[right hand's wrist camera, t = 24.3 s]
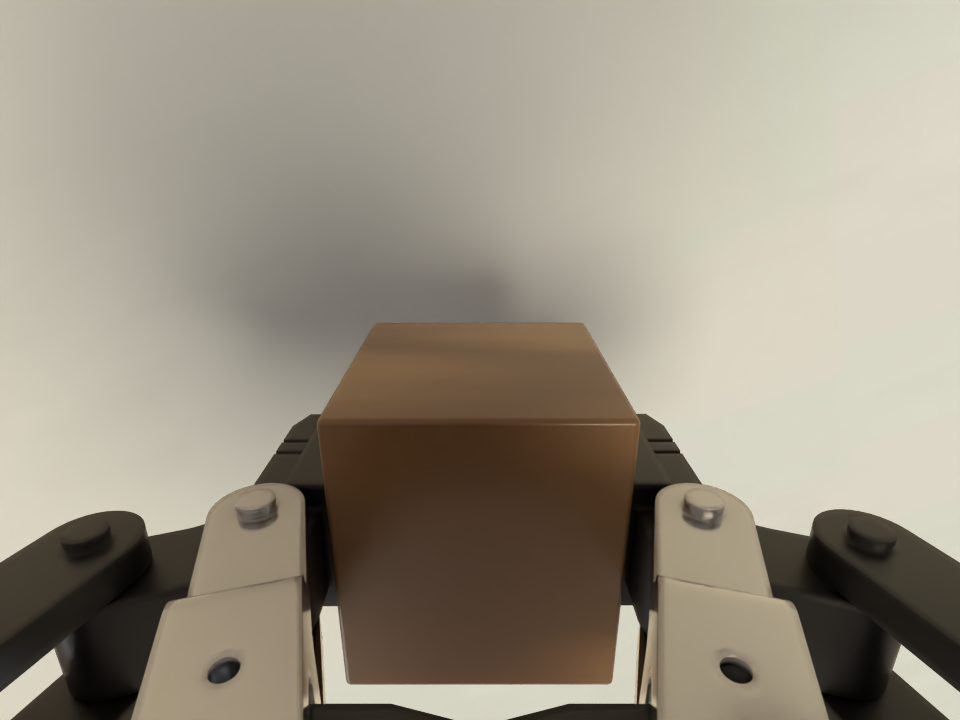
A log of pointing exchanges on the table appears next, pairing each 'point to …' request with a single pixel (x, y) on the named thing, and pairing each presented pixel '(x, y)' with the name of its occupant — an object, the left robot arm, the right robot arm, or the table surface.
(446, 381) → the block
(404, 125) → the table surface
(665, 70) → the table surface
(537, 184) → the table surface
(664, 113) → the table surface
